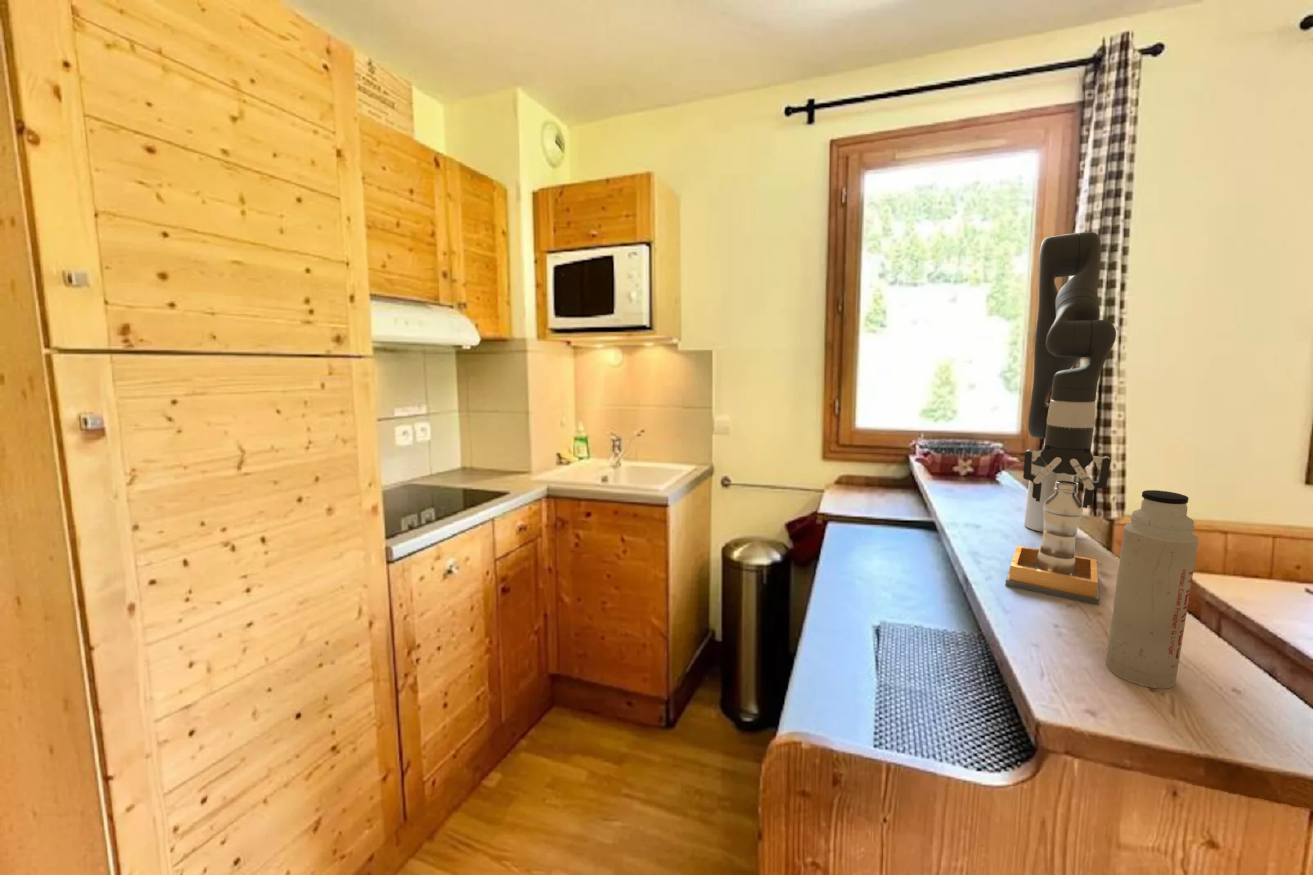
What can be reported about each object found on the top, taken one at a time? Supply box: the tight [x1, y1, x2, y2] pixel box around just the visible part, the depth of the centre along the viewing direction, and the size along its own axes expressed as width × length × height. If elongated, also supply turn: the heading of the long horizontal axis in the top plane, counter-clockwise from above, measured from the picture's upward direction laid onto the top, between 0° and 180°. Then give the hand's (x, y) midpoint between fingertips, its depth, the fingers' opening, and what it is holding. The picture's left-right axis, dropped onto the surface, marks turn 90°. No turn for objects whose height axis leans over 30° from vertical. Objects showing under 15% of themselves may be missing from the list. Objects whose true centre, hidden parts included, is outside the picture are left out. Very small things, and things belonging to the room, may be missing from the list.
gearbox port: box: [1005, 545, 1100, 606], centre depth 114 cm, size 15×15×4 cm
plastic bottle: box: [1036, 480, 1084, 576], centre depth 113 cm, size 6×7×20 cm
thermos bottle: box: [1105, 489, 1199, 690], centre depth 81 cm, size 8×8×28 cm
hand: (1060, 503), depth 112 cm, fingers open, 7 cm apart
